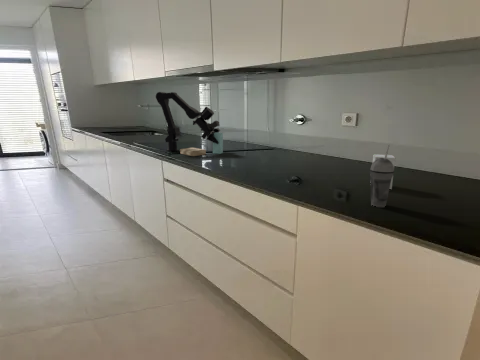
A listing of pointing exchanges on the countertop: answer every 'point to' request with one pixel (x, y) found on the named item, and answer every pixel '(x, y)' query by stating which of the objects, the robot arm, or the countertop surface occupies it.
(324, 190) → the countertop surface
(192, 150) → the birch base block
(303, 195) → the countertop surface
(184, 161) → the countertop surface
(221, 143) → the teal tall block
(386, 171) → the beverage cup
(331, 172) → the countertop surface
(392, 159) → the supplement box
